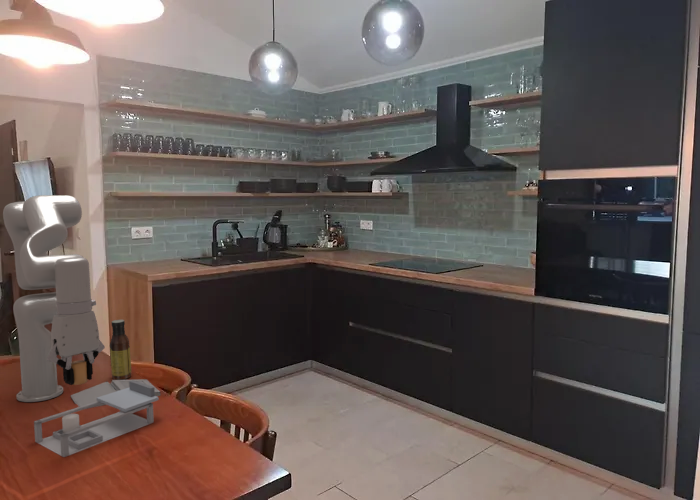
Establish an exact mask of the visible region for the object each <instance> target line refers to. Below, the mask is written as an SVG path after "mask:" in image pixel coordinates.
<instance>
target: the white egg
mask: <svg viewBox="0 0 700 500" xmlns="http://www.w3.org/2000/svg"><path fill="white" fill-rule="evenodd" d="M61 422H62V423H61V424H62V429H63V433H66V432H69V431H71V430H74V429H77V428H80V426H79V425H80V415H79V414H78V413H71V414H68V415H65V416H62V417H61ZM73 435H74V434H73Z"/></svg>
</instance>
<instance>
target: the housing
mask: <svg viewBox="0 0 700 500" xmlns="http://www.w3.org/2000/svg"><path fill="white" fill-rule="evenodd" d="M99 404H102V403H101V402H99V401H96V402H93V403H90V404H86V405H83V406H80V407H79V406H77V407H75V408H72V409H68V410H66V411H65V410H64V411H62V412H59V413H56V414H53V415H52V414H51V415H50V416H46V417H43V418H41V419H37V420H34V421H33V428H34V430H33V431H34V442H35V443H36V444H38V445H41V446H42V447H44V448H46V449H48V450H49V451H52V452H53V453H55V454H56V455H59V456H61V457H62V458H66V457H68V456H72V455H74V454H77V453H79V452H81V451H84V450H87V449H89V448H91V447H95V446H98V445H99V444H102V443H105V442H107V441H109V440H112V439H115V438H117V437H120V436H122V435H125V434H127V433H131V432H133V431H135V430H138V429H140V428H143V427H145V426H148V425H151V424H153V423H154V419H155V418H154V402H152V403H149V404H146V405H143V406H140V407H137V408H135V409H132V410H129V411H126V412H124V411H121V410H119V411H118V412H116V413H112V414H110V415H107V416H105V417H102V418H99V419H96V420H93V421H90V422H87V423H85V424H82V425H81V424H79V426H80V428H77V429H74V430H71V431H69V432H66V433H63V428H61V429H58V430H56V431H53V432H52V435H49V436H48V437H43V429H42V428H43V426H42V424H43V423H47V422H49V421H52V420H56V419H58V418H62V417H63V416H65V415H68V414H75V413H77V412H80V411H84V410H87V409H86V408H88V409H90V408H89V407H92V408H94V407H93V406H96V405H99ZM145 409H146V418H144V417H142V416H139V415H138V414H134V413H137V412H139V411H142V410H145ZM73 434H74V435H73Z"/></svg>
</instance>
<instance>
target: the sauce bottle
mask: <svg viewBox="0 0 700 500" xmlns="http://www.w3.org/2000/svg"><path fill="white" fill-rule="evenodd" d="M125 325H126V323H125V319H115V320H112V321H111V327H112V334H111V339H110V342H109V355H110V367H111V368H110V369H111V370H110V371H111V377H112V380H128V379H129V378H131V377H132V361H131V360H132V359H131V348H130V339H129V337H128V336H127V334H126V332H125V331H126V329H125Z"/></svg>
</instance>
